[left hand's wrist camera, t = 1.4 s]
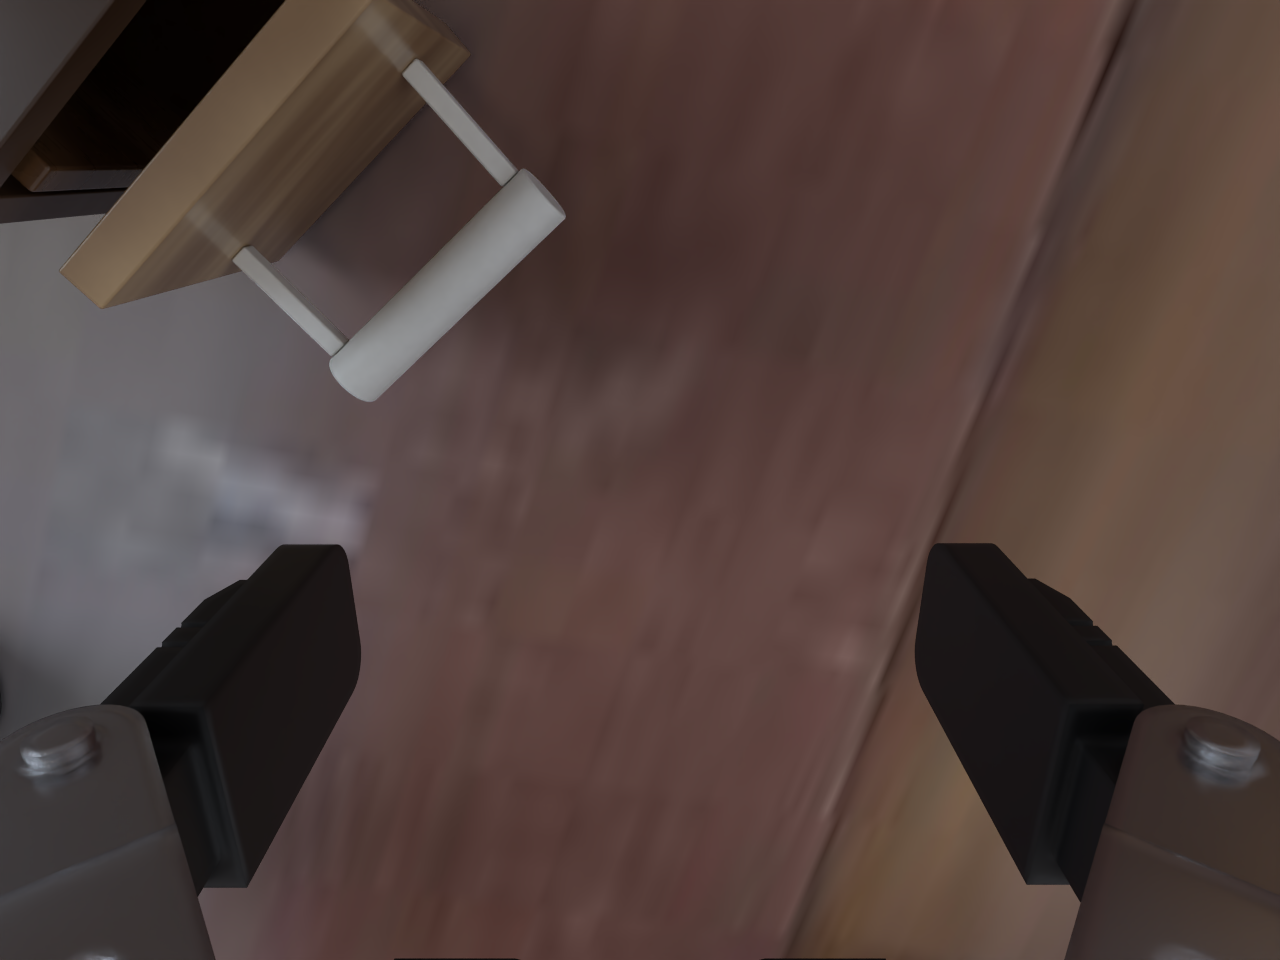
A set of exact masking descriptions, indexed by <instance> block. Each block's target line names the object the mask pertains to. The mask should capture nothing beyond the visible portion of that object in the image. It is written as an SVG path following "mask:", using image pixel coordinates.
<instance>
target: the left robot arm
mask: <svg viewBox="0 0 1280 960" xmlns="http://www.w3.org/2000/svg"><path fill="white" fill-rule="evenodd" d="M360 663H361V644H360V637H359V630H358V623H357V617H356V610H355V603H354V597H353V590H352V583H351V577H350V570H349V564H348V559H347V555H346V553H345V551H344V549H343V548H342V547H341V546H340V545H281V546H279V547H278V548H277V549H276V550H275V551H274V552H273V553H272V554H271V555H270V556H269V557H268V559H267V560H266V561H265V562H264V563H263V564H262V565H261V566H260V567H259V568H258V569H257V570H256V571H255V572H254V573H253V574H252V576H251V577H250V578H249V579H248V580H239V581H237V582H235V583H234V584H232V585H230V586H228V587H226V588H225V589H223V590H221V591H219V592H218V593H216V594H214V595H212V596H210V597H209V598H207V599H205V600H204V601H203V602H202V603H201V604H200V605H199V606H198V607H197V608H196V609H195V610H194V611H193V612H192V613H191V614H190V615H189V616H188V617H187V618H186V619H185V620H184V621H183V622H182V626H181V628H176V629H175V630H174V631H173V632H172V633H171V634H170V635H169V636H168V637H167V638H166V639H165V640H164V641H163V642H162V647H157V648H156V649H155V650H154V651H153V652H152V653H151V654H150V655H149V656H148V657H147V658H146V659H145V660H144V661H143V662H142V663H141V664H140V665H139V666H138V667H137V668H136V669H135V670H134V671H133V672H132V673H131V674H130V675H129V676H128V677H127V678H126V679H125V680H124V681H123V682H122V683H121V684H120V685H119V686H118V687H117V688H116V689H115V690H114V691H113V692H112V693H111V694H110V695H109V696H108V697H107V698H106V699H105V700H104V701H103V702H102V703H101V704H100V705H93V706H85V707H80V708H75V709H70V710H67V711H63V712H60V713H56V714H54V715H51V716H48V717H45V718H43V719H40V720H38V721H36V722H33V723H31V724H29V725H27V726H25V727H23V728H21V729H19V730H17V731H16V732H14V733H12V734H11V735H9V736H8V737H6V738H4V739H3V740H1V741H0V960H216V959H215V956H214V952H213V949H212V945H211V942H210V939H209V935H208V932H207V928H206V925H205V921H204V918H203V914H202V911H201V908H200V904H199V901H198V896H199V894H200V892H201V891H202V889H203V888H247V887H248V885H249V883H250V881H251V879H252V877H253V876H254V874H255V872H256V870H257V868H258V866H259V865H260V863H261V861H262V859H263V857H264V855H265V853H266V852H267V850H268V848H269V846H270V844H271V842H272V841H273V839H274V837H275V835H276V833H277V831H278V830H279V828H280V826H281V824H282V822H283V820H284V818H285V817H286V815H287V813H288V811H289V809H290V807H291V806H292V804H293V802H294V800H295V798H296V796H297V794H298V793H299V791H300V789H301V787H302V785H303V783H304V782H305V780H306V778H307V776H308V774H309V772H310V771H311V769H312V767H313V765H314V763H315V761H316V759H317V758H318V756H319V754H320V752H321V750H322V748H323V747H324V745H325V743H326V741H327V739H328V737H329V735H330V734H331V732H332V730H333V728H334V726H335V724H336V723H337V721H338V719H339V717H340V715H341V713H342V712H343V710H344V708H345V706H346V704H347V702H348V700H349V699H350V697H351V695H352V693H353V691H354V689H355V687H356V684H357V680H358V676H359V671H360ZM915 664H916V671H917V676H918V680H919V683H920V686H921V688H922V690H923V692H924V694H925V696H926V698H927V700H928V701H929V703H930V705H931V707H932V709H933V711H934V713H935V715H936V716H937V718H938V720H939V722H940V724H941V726H942V728H943V729H944V731H945V733H946V735H947V737H948V739H949V741H950V743H951V744H952V746H953V748H954V750H955V752H956V754H957V756H958V757H959V759H960V761H961V763H962V765H963V767H964V769H965V771H966V772H967V774H968V776H969V778H970V780H971V782H972V784H973V785H974V787H975V789H976V791H977V793H978V795H979V797H980V799H981V800H982V802H983V804H984V806H985V808H986V810H987V812H988V813H989V815H990V817H991V819H992V821H993V823H994V825H995V827H996V828H997V830H998V832H999V834H1000V836H1001V838H1002V840H1003V841H1004V843H1005V845H1006V847H1007V849H1008V851H1009V853H1010V854H1011V856H1012V858H1013V860H1014V862H1015V864H1016V866H1017V868H1018V869H1019V871H1020V873H1021V875H1022V877H1023V879H1024V881H1025V882H1026V884H1027V885H1070V886H1071V887H1072V889H1073V891H1074V892H1075V894H1076V896H1077V897H1078V899H1079V901H1080V902H1081V904H1080V908H1079V911H1078V914H1077V918H1076V921H1075V925H1074V928H1073V932H1072V935H1071V939H1070V942H1069V945H1068V949H1067V952H1066V956H1065V959H1064V960H1280V741H1279V740H1277V739H1276V738H1274V737H1272V736H1271V735H1269V734H1268V733H1266V732H1264V731H1263V730H1261V729H1259V728H1257V727H1255V726H1253V725H1251V724H1249V723H1247V722H1244V721H1242V720H1240V719H1237V718H1235V717H1232V716H1229V715H1226V714H1224V713H1220V712H1217V711H1213V710H1210V709H1205V708H1200V707H1195V706H1187V705H1175V704H1174V703H1173V702H1172V701H1171V700H1170V699H1169V698H1168V697H1167V696H1166V695H1165V694H1164V693H1163V692H1162V691H1161V690H1160V689H1159V688H1158V687H1157V686H1156V685H1155V684H1154V683H1153V682H1152V681H1151V680H1150V679H1149V678H1148V677H1147V676H1146V675H1145V674H1144V673H1143V672H1142V671H1141V670H1140V669H1139V668H1138V667H1137V666H1136V665H1135V663H1134V662H1133V661H1132V660H1131V659H1130V658H1129V657H1128V656H1127V655H1126V654H1125V653H1124V652H1123V651H1122V650H1121V649H1120V648H1119V647H1118V646H1112V640H1111V639H1110V638H1109V637H1108V636H1107V635H1106V634H1105V633H1104V632H1103V631H1102V630H1101V629H1100V628H1099V627H1098V626H1093V621H1092V620H1091V619H1090V618H1089V617H1088V616H1087V615H1086V614H1085V613H1084V612H1083V611H1082V610H1081V609H1080V608H1079V607H1078V606H1077V605H1076V604H1075V603H1074V602H1073V601H1072V600H1071V599H1070V598H1069V597H1067V596H1065V595H1063V594H1062V593H1060V592H1058V591H1056V590H1054V589H1053V588H1051V587H1049V586H1047V585H1046V584H1044V583H1042V582H1040V581H1038V580H1037V579H1027V578H1026V577H1025V576H1024V574H1023V573H1022V572H1021V571H1020V570H1019V569H1018V568H1017V567H1016V566H1015V565H1014V564H1013V563H1012V562H1011V561H1010V559H1009V558H1008V557H1007V556H1006V555H1005V554H1004V553H1003V552H1002V551H1001V550H1000V549H999V548H998V547H997V546H996V545H995V544H992V543H937V544H935V545H934V546H933V547H932V549H931V551H930V553H929V556H928V560H927V566H926V573H925V579H924V586H923V593H922V600H921V607H920V613H919V620H918V627H917V634H916V641H915ZM0 714H1V695H0ZM394 960H519V959H394ZM761 960H886V959H761Z"/></svg>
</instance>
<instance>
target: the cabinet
mask: <svg viewBox="0 0 1280 960" xmlns="http://www.w3.org/2000/svg"><path fill="white" fill-rule="evenodd" d="M146 1H147V0H0V224H1V223H11V222H22V221H32V220H42V219H53V218H63V217H73V216H84V215H94V214H105V213H107V212H108V211H109V210H110V209H111V207H112V206H113V205H114V204H115V203H116V202H117V200H118V199H119V198H120V197H121V196H122V194H123V193H124V192H125V191H126V190H127V188H128V187H123V188H103V189H83V190H63V191H43V192H32V191H30V190H28V189H27V188H26V187H25V186H24V185H23V184H21V183H20V182H19V181H18V180H17V179H16V178H15V177H14V176H13V175H12V174H11V173H12V172H13V171H14V169H15V168H16V167H17V165H18V164H19V163H20V162H21V160H22V159H23V158H24V157H25V155H26V154H27V153H28V151H29V150H30V149H31V148H32V146H33V145H34V144H35V142H36V141H37V140H38V139H39V137H40V136H41V135H42V134H43V132H44V131H45V130H46V128H47V127H48V126H49V125H50V123H51V122H52V121H53V119H54V118H55V117H56V116H57V114H58V113H59V112H60V111H61V109H62V108H63V107H64V105H65V104H66V103H67V102H68V100H69V99H70V98H71V96H72V95H73V94H74V93H75V91H76V90H77V89H78V88H79V86H80V85H81V84H82V82H83V81H84V80H85V79H86V77H87V76H88V75H89V73H90V72H91V71H92V70H93V68H94V67H95V66H96V65H97V63H98V62H99V61H100V59H101V58H102V57H103V56H104V54H105V53H106V52H107V50H108V49H109V48H110V47H111V45H112V44H113V43H114V42H115V40H116V39H117V38H118V36H119V35H120V34H121V33H122V31H123V30H124V29H125V27H126V26H127V25H128V24H129V22H130V21H131V20H132V19H133V17H134V16H135V15H136V13H137V12H138V11H139V10H140V8H141V7H142V6H143V4H144V3H145V2H146Z"/></svg>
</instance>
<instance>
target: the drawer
mask: <svg viewBox="0 0 1280 960" xmlns="http://www.w3.org/2000/svg"><path fill="white" fill-rule="evenodd" d="M470 55H471V54H470V52H469V51H468V49H467V48H466V47H465V46H464V45H463V43H462V42H461V41H460V40H459V39H458V38H457V36H456V35H455V34H454V33H453V32H452V31H451V29H450V28H449V27H448V26H447V25H446V24H445V23H444V22H442V21H441V20H440V19H438V18H437V17H435V16H434V15H432V14H431V13H430V12H428V11H427V10H425V9H424V8H422V7H421V6H420V5H418V4H417V3H415V2H414V1H412V0H147V1H146V2H145V3H144V4H143V6H142V7H141V8H140V10H139V11H138V12H137V13H136V15H135V16H134V17H133V19H132V20H131V21H130V22H129V24H128V25H127V26H126V27H125V29H124V30H123V31H122V33H121V34H120V35H119V36H118V38H117V39H116V40H115V42H114V43H113V44H112V45H111V47H110V48H109V49H108V50H107V52H106V53H105V54H104V56H103V57H102V58H101V59H100V61H99V62H98V63H97V65H96V66H95V67H94V68H93V70H92V71H91V72H90V73H89V75H88V76H87V77H86V79H85V80H84V81H83V82H82V84H81V85H80V86H79V88H78V89H77V90H76V91H75V93H74V94H73V95H72V96H71V98H70V99H69V100H68V102H67V103H66V104H65V105H64V107H63V108H62V109H61V111H60V112H59V113H58V114H57V116H56V117H55V118H54V119H53V121H52V122H51V123H50V125H49V126H48V127H47V128H46V130H45V131H44V132H43V134H42V135H41V136H40V137H39V139H38V140H37V141H36V142H35V144H34V145H33V146H32V148H31V149H30V150H29V151H28V153H27V154H26V155H25V157H24V158H23V159H22V160H21V162H20V163H19V164H18V165H17V167H16V168H15V169H14V171H13V172H12V173H11V174H12V175H13V176H14V177H15V178H16V179H17V180H18V181H19V182H20V183H21V184H23V185H24V186H25V187H26V188H27V189H28V190H30V191H32V192H43V191H63V190H83V189H103V188H123V187H128V188H127V190H126V191H125V192H124V193H123V194H122V196H121V197H120V198H119V199H118V200H117V202H116V203H115V204H114V205H113V206H112V207H111V209H110V210H109V211H108V212H107V213H106V215H105V216H104V217H103V218H102V219H101V221H100V222H99V223H98V224H97V225H96V227H95V228H94V229H93V230H92V231H91V233H90V234H89V235H88V236H87V237H86V238H85V240H84V241H83V242H82V243H81V244H80V246H79V247H78V248H77V249H76V250H75V252H74V253H73V254H72V255H71V256H70V258H69V259H68V260H67V261H66V262H65V264H64V265H63V266H62V267H61V268H60V270H59V272H60V273H61V274H62V275H63V276H64V277H65V278H67V279H68V280H69V281H70V282H71V283H72V284H73V285H74V286H75V287H77V288H78V289H79V290H80V291H81V292H82V293H83V294H84V295H86V296H87V297H88V298H89V299H90V300H91V301H92V302H93V303H95V304H96V305H97V306H98V307H99V308H101V309H105V308H108V307H112V306H116V305H119V304H123V303H127V302H130V301H134V300H138V299H141V298H145V297H149V296H152V295H156V294H160V293H163V292H167V291H171V290H174V289H178V288H182V287H185V286H189V285H192V284H196V283H200V282H203V281H207V280H211V279H214V278H218V277H222V276H225V275H229V274H233V273H236V272H240V271H243V272H244V273H245V274H246V275H247V276H248V277H249V278H250V279H251V280H252V281H253V282H254V283H255V284H256V285H258V286H259V287H260V288H261V289H262V290H263V291H264V292H265V293H266V294H267V295H268V296H269V297H270V298H271V299H272V300H273V301H274V302H275V303H276V304H277V305H278V306H279V307H280V308H281V309H282V310H284V311H285V312H286V313H287V314H288V315H289V316H290V317H291V318H292V319H293V320H294V321H295V322H296V323H297V324H298V325H299V326H300V327H301V328H302V329H303V330H304V331H305V332H306V333H307V334H308V335H310V336H311V337H312V338H313V339H314V340H315V341H316V342H317V343H318V344H319V345H320V346H321V347H322V348H323V349H324V350H325V351H326V352H327V353H328V354H329V355H331V356H333V357H332V358H331V360H330V363H329V367H330V370H331V372H332V374H333V376H334V377H335V379H336V380H337V381H338V383H339V384H340V385H341V386H342V387H343V388H344V389H345V390H346V391H348V392H349V393H350V394H352V395H353V396H355V397H356V398H358V399H360V400H363V401H366V402H373V401H375V400H376V399H377V398H379V397H380V396H381V395H382V394H383V393H384V392H385V391H386V390H387V389H388V388H389V387H390V386H391V385H392V384H393V383H394V382H395V381H396V380H397V379H398V378H399V377H400V376H401V375H403V374H404V373H405V372H406V371H407V370H408V369H409V368H410V367H411V366H412V365H413V364H414V363H415V362H416V361H417V360H418V359H419V358H420V357H421V356H422V355H423V354H424V353H425V352H427V351H428V350H429V349H430V348H431V347H432V346H433V345H434V344H435V343H436V342H437V341H438V340H439V339H440V338H441V337H442V336H443V335H444V334H445V333H446V332H447V331H448V330H449V329H451V328H452V327H453V326H454V325H455V324H456V323H457V322H458V321H459V320H460V319H461V318H462V317H463V316H464V315H465V314H466V313H467V312H468V311H469V310H470V309H471V308H472V307H473V306H475V305H476V304H477V303H478V302H479V301H480V300H481V299H482V298H483V297H484V296H485V295H486V294H487V293H488V292H489V291H490V290H491V289H492V288H493V287H494V286H495V285H496V284H497V283H499V282H500V281H501V280H502V279H503V278H504V277H505V276H506V275H507V274H508V273H509V272H510V271H511V270H512V269H513V268H514V267H515V266H516V265H517V264H518V263H519V262H520V261H521V260H523V259H524V258H525V257H526V256H527V255H528V254H529V253H530V252H531V251H532V250H533V249H534V248H535V247H536V246H537V245H538V244H539V243H540V242H541V241H542V240H543V239H544V238H545V237H547V236H548V235H549V234H550V233H551V232H552V231H553V230H554V229H555V228H556V227H557V226H558V225H559V224H560V223H561V222H562V221H563V220H564V219H565V217H566V215H565V212H564V210H563V209H562V207H561V206H560V205H559V203H558V202H557V201H556V199H555V198H554V197H553V196H552V195H551V193H550V192H549V191H548V190H547V189H546V188H545V187H544V186H543V184H542V183H541V182H540V181H539V180H538V179H537V178H536V177H535V176H534V175H533V174H531V173H530V172H529V171H528V170H526V169H524V168H523V169H521V170H520V171H519V172H518V170H517V169H516V167H515V166H514V165H513V164H512V163H511V162H510V161H509V159H508V158H507V157H506V156H505V155H504V154H503V153H502V151H501V150H500V149H499V148H498V147H497V146H496V145H495V143H494V142H493V141H492V140H491V139H490V138H489V137H488V135H487V134H486V133H485V132H484V131H483V130H482V129H481V127H480V126H479V125H478V124H477V123H476V122H475V121H474V120H473V118H472V117H471V116H470V115H469V114H468V113H467V112H466V110H465V109H464V108H463V107H462V106H461V105H460V104H459V102H458V101H457V100H456V99H455V98H454V97H453V96H452V94H451V93H450V92H449V91H448V90H447V89H446V88H445V86H444V85H443V84H444V83H445V82H446V81H447V80H448V79H449V78H450V77H451V76H452V75H453V74H454V73H455V71H456V70H457V69H458V68H459V67H460V66H461V65H462V64H463V63H464V62H465V61H466V60H467V59H468V58H469V56H470ZM426 103H427V104H428V105H429V106H430V107H431V108H432V109H433V110H434V112H435V113H436V114H437V115H438V116H439V117H440V118H441V119H442V121H443V122H444V123H445V124H446V125H447V126H448V127H449V128H450V129H451V131H452V132H453V133H454V134H455V135H456V136H457V137H458V138H459V140H460V141H461V142H462V143H463V144H464V145H465V146H466V147H467V149H468V150H469V151H470V152H471V153H472V154H473V155H474V156H475V158H476V159H477V160H478V161H479V162H480V163H481V164H482V165H483V167H484V168H485V169H486V170H487V171H488V172H489V173H490V174H491V175H492V177H493V178H494V179H495V180H496V181H497V182H498V183H499V184H500V185H501V186H504V187H503V188H502V189H501V190H500V191H499V192H498V193H497V194H496V195H495V196H494V197H493V198H492V199H491V200H490V201H489V202H488V203H487V204H486V205H485V206H484V207H483V208H482V209H481V210H480V211H479V212H478V213H477V214H476V215H475V216H474V217H473V218H472V219H471V220H470V221H469V222H468V223H467V224H466V225H465V226H464V227H463V228H462V229H461V230H460V231H459V232H458V233H457V234H456V235H455V236H454V237H453V238H452V239H451V240H450V241H449V242H448V243H447V244H446V245H445V246H444V247H443V248H442V249H441V250H440V251H439V252H438V253H437V254H436V255H435V256H434V257H433V258H432V259H431V260H430V261H429V262H428V263H427V264H426V265H425V266H424V267H423V268H422V269H421V270H420V271H419V272H418V273H417V274H416V275H415V276H414V277H413V278H412V279H411V280H410V281H409V282H408V283H407V284H406V285H405V286H404V287H403V288H402V289H401V290H400V291H399V292H398V293H397V294H396V295H395V296H394V297H393V298H392V299H391V300H390V301H389V302H388V303H387V304H386V305H385V306H384V307H383V308H382V309H381V310H380V311H379V312H378V313H377V314H376V315H375V316H374V317H373V318H372V319H371V320H370V321H369V322H368V323H367V324H366V325H365V326H364V327H363V328H362V329H361V330H360V331H358V332H357V333H356V334H355V335H354V336H353V337H352V338H351V339H350V340H349V339H348V338H347V337H346V336H345V335H343V334H342V333H341V332H340V331H339V330H338V329H337V328H336V327H335V326H334V325H333V324H332V323H331V322H330V321H329V320H328V319H327V318H326V317H325V316H324V315H323V314H322V313H321V312H320V311H319V310H318V309H317V308H316V307H315V306H314V305H313V304H312V303H311V302H310V301H309V300H308V299H307V298H306V297H305V296H304V295H303V294H302V293H300V292H299V291H298V290H297V289H296V288H295V287H294V286H293V285H292V284H291V283H290V282H289V281H288V280H287V279H286V278H285V277H284V276H283V275H282V274H281V273H280V272H279V271H278V270H277V269H276V268H275V267H274V266H273V265H272V264H271V263H273V262H277V261H279V260H280V259H281V258H282V257H283V256H284V255H285V253H286V252H287V251H288V250H289V249H290V248H291V247H292V246H293V245H294V244H295V243H296V242H297V241H298V240H299V238H300V237H301V236H302V235H303V234H304V233H305V232H306V231H307V230H308V229H309V228H310V227H311V226H312V225H313V223H314V222H315V221H316V220H317V219H318V218H319V217H320V216H321V215H322V214H323V213H324V212H325V211H326V210H327V209H328V207H329V206H330V205H331V204H332V203H333V202H334V201H335V200H336V199H337V198H338V197H339V196H340V195H341V194H342V192H343V191H344V190H345V189H346V188H347V187H348V186H349V185H350V184H351V183H352V182H353V181H354V180H355V179H356V177H357V176H358V175H359V174H360V173H361V172H362V171H363V170H364V169H365V168H366V167H367V166H368V165H369V164H370V162H371V161H372V160H373V159H374V158H375V157H376V156H377V155H378V154H379V153H380V152H381V151H382V150H383V149H384V147H385V146H386V145H387V144H388V143H389V142H390V141H391V140H392V139H393V138H394V137H395V136H396V135H397V134H398V132H399V131H400V130H401V129H402V128H403V127H404V126H405V125H406V124H407V123H408V122H409V121H410V120H411V119H412V117H413V116H414V115H415V114H416V113H417V112H418V111H419V110H420V109H421V108H422V107H423V106H424V105H425V104H426Z"/></svg>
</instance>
